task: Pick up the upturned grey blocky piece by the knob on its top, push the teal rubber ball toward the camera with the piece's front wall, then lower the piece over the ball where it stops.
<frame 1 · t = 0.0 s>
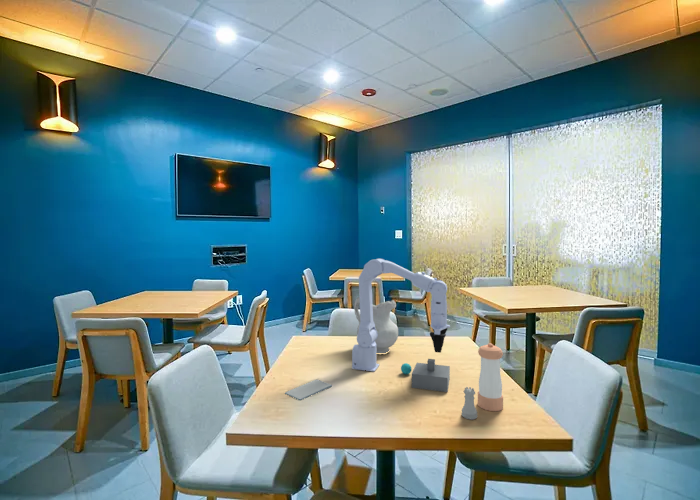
hand: (438, 349, 132), 10 cm above the table, fingers open, 7 cm apart
rook chess piece: (469, 417, 101), on the table
ceramic pitcher: (375, 350, 164), on the table
grey blocky piece: (431, 383, 125), on the table
ball: (406, 368, 134), on the table
smartphone: (308, 391, 120), on the table
pepper shaker: (490, 406, 108), on the table
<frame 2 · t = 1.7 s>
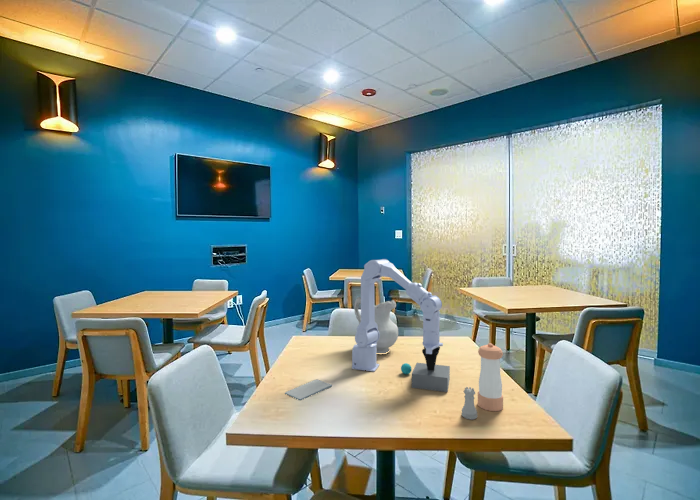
hand: (431, 368, 125), 5 cm above the table, fingers closed on grey blocky piece, 2 cm apart
grey blocky piece: (431, 383, 125), on the table, touching gripper
everything else where it was.
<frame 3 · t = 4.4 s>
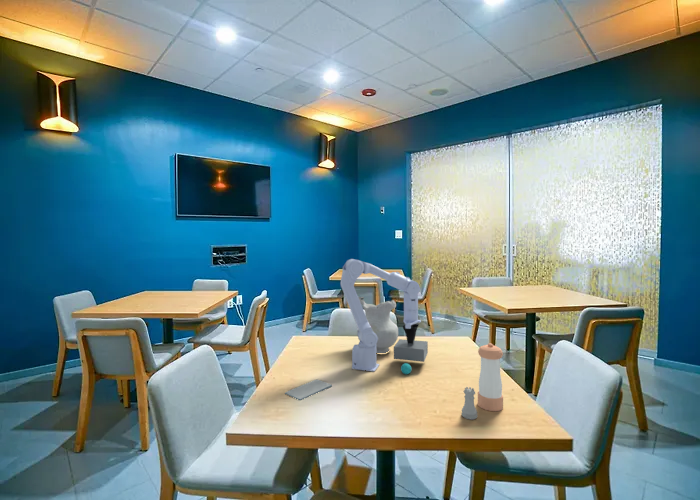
hand: (411, 342, 144), 9 cm above the table, fingers closed on grey blocky piece, 2 cm apart
grey blocky piece: (411, 355, 144), point 4 cm above the table, touching gripper
everything else where it was.
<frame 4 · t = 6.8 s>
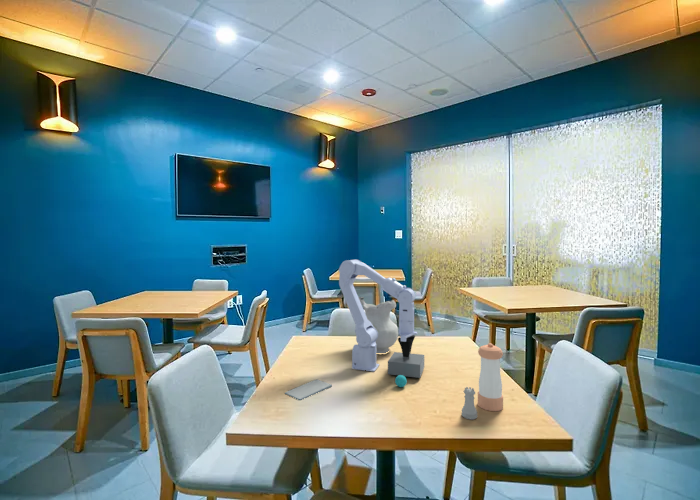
hand: (406, 355, 135), 7 cm above the table, fingers closed on grey blocky piece, 2 cm apart
grey blocky piece: (406, 370, 135), point 1 cm above the table, touching gripper
ball: (400, 381, 122), on the table
everything else where it was.
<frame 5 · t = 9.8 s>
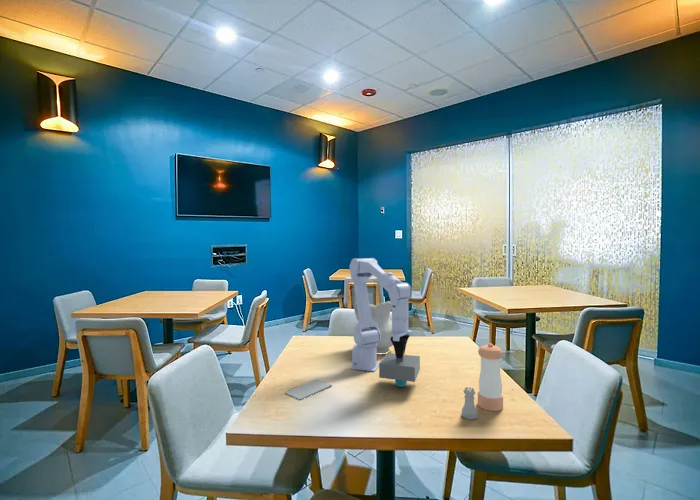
hand: (400, 356, 123), 10 cm above the table, fingers closed on grey blocky piece, 2 cm apart
grey blocky piece: (400, 373, 123), point 4 cm above the table, touching gripper
everything else where it was.
when the fingers open (6 cm above the table, at t = 12.0 s): grey blocky piece stays where it is, on the table.
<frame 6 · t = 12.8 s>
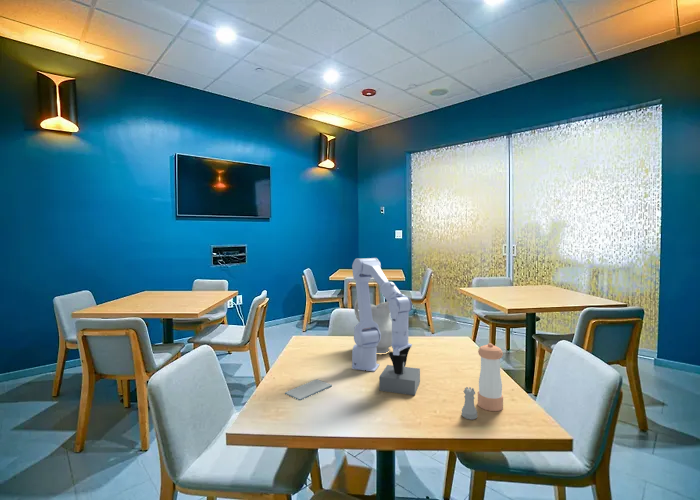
hand: (400, 369, 123), 6 cm above the table, fingers open, 7 cm apart
grey blocky piece: (400, 386, 123), on the table
everything else where it was.
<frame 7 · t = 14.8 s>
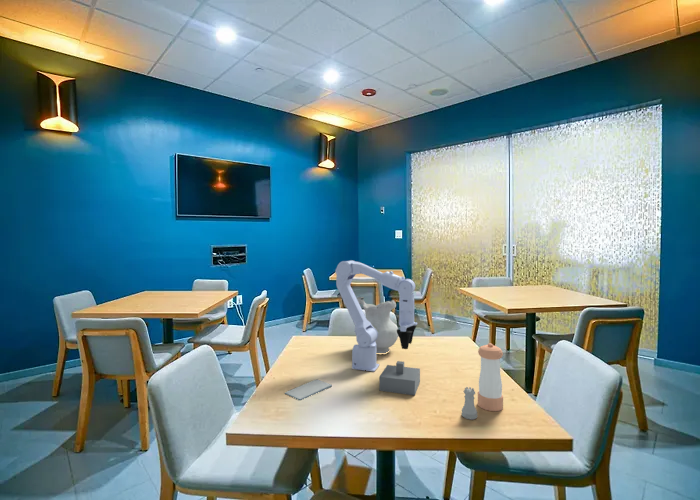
hand: (406, 345, 135), 10 cm above the table, fingers open, 7 cm apart
nothing on the table moved.
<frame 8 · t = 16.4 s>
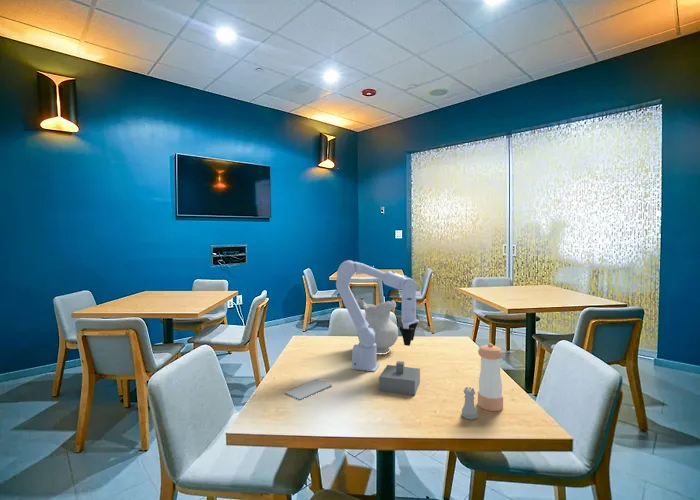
hand: (408, 342, 140), 10 cm above the table, fingers open, 7 cm apart
nothing on the table moved.
at the end: ball 0.6 cm from the grey blocky piece (horizontally); grey blocky piece on the table; ball moved 12.6 cm from its start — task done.
